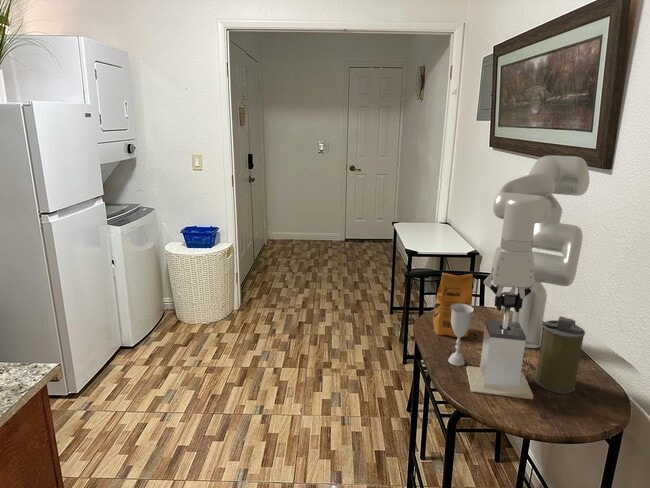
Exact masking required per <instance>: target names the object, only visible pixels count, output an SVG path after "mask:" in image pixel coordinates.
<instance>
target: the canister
mask: <svg viewBox="0 0 650 488" xmlns="http://www.w3.org/2000/svg"><path fill="white" fill-rule="evenodd" d="M541 324H542V330H543V332H542V339H541V346H540V348H539V349H538V348H536V351H538V350H539V353H536V354H535V355H536V356H535V357H537V354H538V359H537V365H536V373H535V376H534V381H535V383H537V385H538V386H540V387H542V388H543V389H545V390H547V391H549V392H554V393H557V394H570V393H573V392H574V391H575V389H576V379H577V374H578V369H579V364H580V359H581V353H582V347H583V342H584V336H585V335H586V331H585V330H584V329H583V327H580V326H578V325H577V324H576V320H575V319H572V318H568V317H565V316H559V317H558V320H546V321H544V320H543V321H542V323H541ZM540 331H541V328H540ZM539 337H540V335H539ZM538 344H539V341H538Z"/></svg>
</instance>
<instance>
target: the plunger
mask: <svg viewBox="0 0 650 488" xmlns="http://www.w3.org/2000/svg"><path fill="white" fill-rule="evenodd" d="M501 294H502V295H501V296H502V306H501V307H504V311H503V320H502V321H503V326H502V329H503V330H508V323H509V322H510V321H509V320H510V314H511V308H513V309H514V307H516V302H517V295H516V292H515V293H514V292H510V291H502V293H501Z"/></svg>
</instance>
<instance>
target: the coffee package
mask: <svg viewBox="0 0 650 488" xmlns="http://www.w3.org/2000/svg"><path fill="white" fill-rule="evenodd" d="M473 276H474V275H473V273H470V274H463V275H455V274H450V273H447V272H446V273H445V272H442V273H441V280H440V283H439V287H438V289H437V293H436V299H435V304H434V308H433V314H432V315H433V316H432V317H433V318H432V323H433V327H434V328H433V331H434V333H435V334H436V335H437V336H450V337H453V338H457V336H456V335H455V334H454V331H453V329H452V325H451V314H452V310H451V305H452V304H457V303H459V304H466V305H469V306H471V307H472V302H473V283H474V277H473ZM469 333H470V328H469V329H468V330H467V332H466V333H465V335H464V336H463V337H468V336H469ZM463 337H462V338H463Z"/></svg>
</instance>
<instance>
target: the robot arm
mask: <svg viewBox="0 0 650 488" xmlns="http://www.w3.org/2000/svg"><path fill="white" fill-rule="evenodd" d="M590 179H591V178H590V172H589V167H588V164H587V162H586V161H585V159H584V158H583V157H579V156H575V155H574V156H573V155H572V156H571V155H544V156H541V157H539V159H537V160H536V161H535V163H534V165H532V168H531V169H530V171H529V173H528V174H527V175H524V176H521V177H518V178H516V179H515V178H514V179H512V180H510V181H508V182H506V183H505V184H504V185H503V186H502V187H501V188H500V190H499V191H498V193H497V195H496V196H495V199H494V202H493V206H492V207H493V208H492V210H493V213H494V216H496V218H498V219H500V220H503V222H502V229H501V237H500V246H498V247H496V248H495V252H494V257H493V260H492V264H491V270H490V274H489V275H488V276H487V277H486V278H485V279H484V280H483V284H484V286H486V287H487V288H488V289H490V290H491V291H492V292H493V293H494V295H495V296H494V307H496V309H497V311H499V312H500V311H501V310H502V307H503V306H502V296H501V295H502V292H503V290H504V288H505V287H507V288H515V289H516V290H515V294H516V295H517V302H516V307H514V308H513V313H512V320H511V322H516V323H519V324H520V326H521V328H522V330H523V332H524V334H525V336H526V341H525V348H527V349H537V348H539V349H540V346H541V339H542V332H543V324H541V323H542V321H543V322H544V317H545V311H546V304H547V295H548V294H547V290H546V288H545V287H544V285H543V284H544V283H545V284H548V285H549V284H550V285H555V286H560V287H569V286H572V284H573V283H574V281H575V278H576V274H577V270H578V269H577V268H578V264H579V259H580V255H581V250H582V245H583V238H584V237H583V231H582V229H581V227H579V226H577V225H575V224H568V223H561V219H562V218H561V217H562V214H563V208H562V206H561V203H560V202H559V201H558V199H557V198H556V197H555V196H554V195H555V194H556V195H562V196H563V195H564V196H575V197H577V196H583V195H584V194H585V193H587V190H588V189H589V185H590ZM533 248H534V249H537V250H542V251H549V252H556V253H561V254H562V255H557V254H550V253H545V252H540V251H533ZM540 328H541V331H540ZM539 335H540V337H539ZM538 341H539V344H538Z"/></svg>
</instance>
